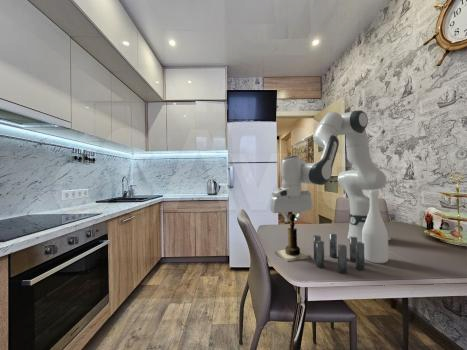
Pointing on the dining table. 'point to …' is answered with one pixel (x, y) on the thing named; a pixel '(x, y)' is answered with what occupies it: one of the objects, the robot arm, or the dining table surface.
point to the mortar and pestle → (292, 238)
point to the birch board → (292, 257)
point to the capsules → (340, 253)
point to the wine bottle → (375, 233)
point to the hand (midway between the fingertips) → (292, 221)
